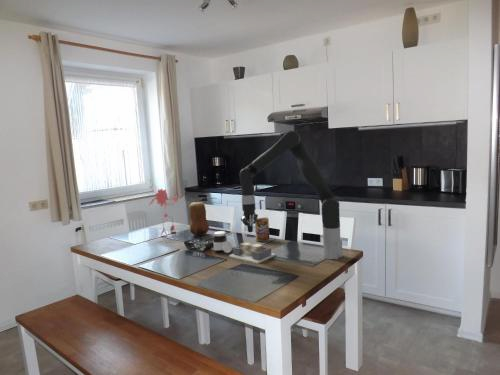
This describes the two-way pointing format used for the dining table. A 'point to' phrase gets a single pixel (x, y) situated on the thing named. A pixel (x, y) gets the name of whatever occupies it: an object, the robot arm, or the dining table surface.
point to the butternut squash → (198, 219)
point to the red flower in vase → (162, 198)
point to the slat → (250, 248)
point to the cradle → (256, 256)
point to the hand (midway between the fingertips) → (250, 231)
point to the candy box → (262, 229)
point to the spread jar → (221, 242)
